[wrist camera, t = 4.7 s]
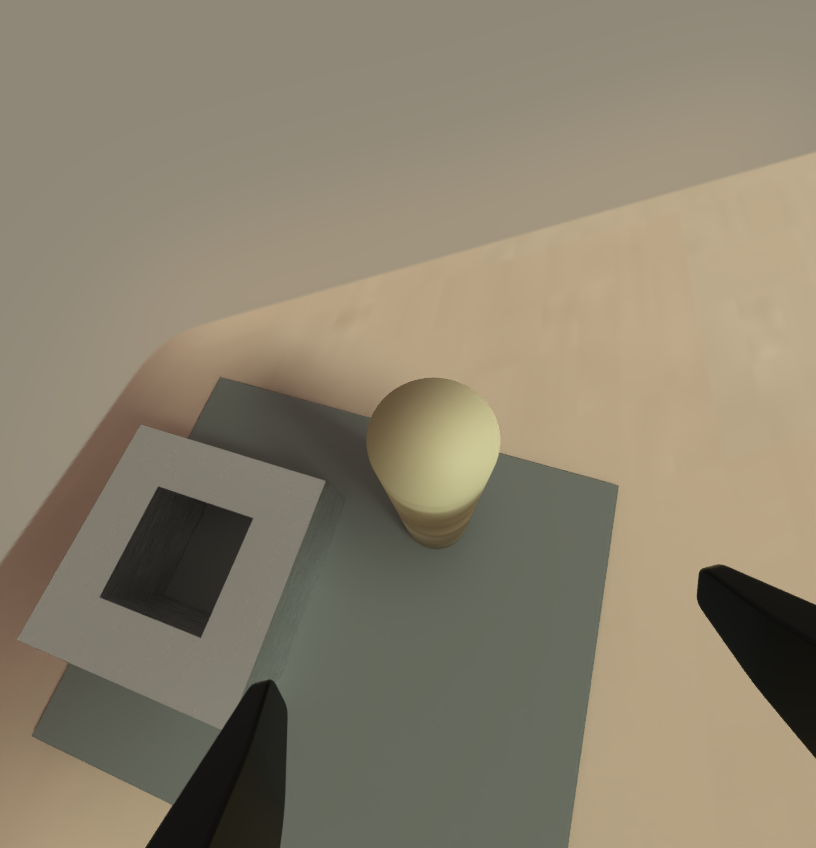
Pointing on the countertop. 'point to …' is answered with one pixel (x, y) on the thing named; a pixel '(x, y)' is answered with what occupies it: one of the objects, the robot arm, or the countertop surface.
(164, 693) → the square peg hole block
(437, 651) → the mat
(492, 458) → the pin
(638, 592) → the countertop surface
